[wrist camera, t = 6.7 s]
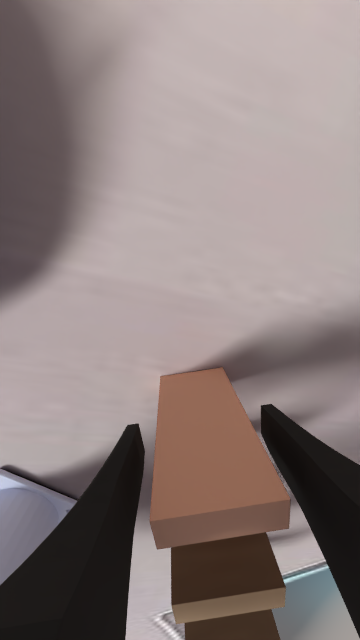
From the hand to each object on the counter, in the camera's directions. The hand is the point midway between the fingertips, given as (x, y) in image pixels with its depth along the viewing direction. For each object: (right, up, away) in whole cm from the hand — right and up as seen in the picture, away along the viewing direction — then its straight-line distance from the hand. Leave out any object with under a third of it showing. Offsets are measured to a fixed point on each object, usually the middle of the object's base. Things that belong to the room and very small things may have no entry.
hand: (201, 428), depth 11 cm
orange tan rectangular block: (0, +1, +4) cm, 5 cm away
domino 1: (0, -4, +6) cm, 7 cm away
